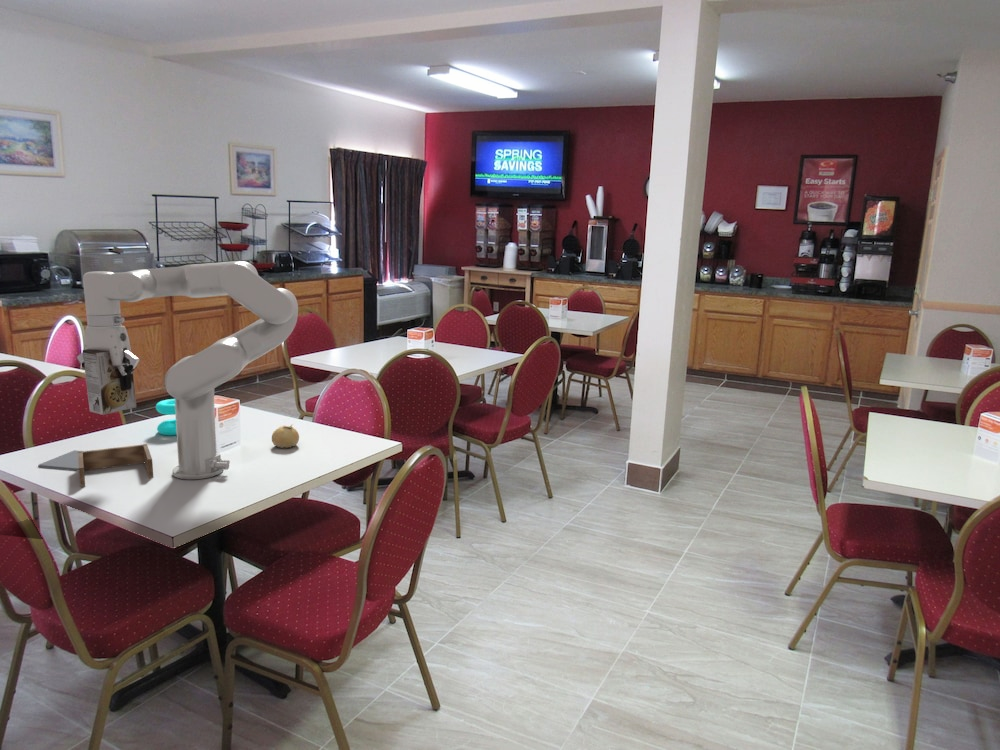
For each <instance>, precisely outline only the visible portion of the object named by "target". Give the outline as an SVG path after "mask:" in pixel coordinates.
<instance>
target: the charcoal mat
mask: <svg viewBox="0 0 1000 750" xmlns="http://www.w3.org/2000/svg"><path fill="white" fill-rule="evenodd" d="M82 451H83V450H76V449H75V450H72V451H69V452H67V453H65V454H62V455H59V456H57V457H54V458H52V459H49V460H47V461H44V462H42V463H39V464H38V467H39V468H44V467H49V468H48V469H55V468H59V469H58V470H66V469H69V471H77V470H79V460H78V452H82Z"/></svg>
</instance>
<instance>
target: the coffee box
mask: <svg viewBox="0 0 1000 750" xmlns="http://www.w3.org/2000/svg"><path fill="white" fill-rule="evenodd" d="M82 352H83V357H84V366H85V369H84V373H85V384H86V391H87V399H88V400H87V401H88V406H89V407H88V408H89V413H93V414H94V413H95V414H99V415H101V416H102V415H103V416H105V415H108V414H113V413H118V412H121V411H126V410H129V409H135V408H137V401H136V391H135V390H136V389H135V381H134V372H133V373H132V374H131V389H128V390H125V391H122V390H121V386H120V376H121V375H122V374H121V373H120V371H119V370H118V368H117V367H116V366H113V365H112V361H111V357H110V352H109V351H101V350H89V349H86V350H85V349H83V350H82ZM124 360H126V361H129V359H128V358H126V357H123V360H122V363H123V362H124ZM127 363H128V364H129V365H130V363H129V362H127ZM123 367H124V366H123ZM124 369H125V368H124Z"/></svg>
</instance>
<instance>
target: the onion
mask: <svg viewBox="0 0 1000 750" xmlns="http://www.w3.org/2000/svg"><path fill="white" fill-rule="evenodd" d="M293 425H294V424H291V425H286V424H285V425H281V426H279V427H278V428H276V429H275V430H274V431H273V432H272V435H271V442H272V443H273V445H274V446H275V445H276V446H275V447H277V446H278V447H277V448H279V447H290V448H292V447H291V446H293V447H294V445H295V446H296V445H297V444H299V441H300V434H299V432H298V431H297V429H295V428H294V427H293Z"/></svg>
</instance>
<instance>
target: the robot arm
mask: <svg viewBox="0 0 1000 750" xmlns="http://www.w3.org/2000/svg"><path fill="white" fill-rule="evenodd" d="M82 282H83V283H82V284H83V294H84V295H83V296H84V302H85V312H86V323H87V326H86V327H85V332H84V350H86V349H89V350H101V351H109V352H110V357H111V361H112V365H113V366H116V367H117V368H118V370H119V371H120V373H121V374H122V375H121V376H120V386H121V390H122V391H125V390H128V389H131V374H132V373H133V374H134V370H136V369H137V366H138V364H139V362H140V358H139V357H137V356H136V355H134V354H133V353H132V349H131V343H130V338H129V333H128V331H127V328H126V325H123V324H122V323H124V322H125V321H126V320H125V317H122V314H121V302H126V303H136V302H139V301H142V300H145V299H151V298H160V297H174V296H179V297H181V296H182V297H183V296H184V297H188V298H191V299H200V298H210V297H211V298H212V297H221V296H229V297H230V298H231V299H233V300H234V301H235V302H237V303H238V304H239V305H242V307H244V308H245V309H247V310H249V311H250V312H251V313H252V314H254V315H255V316H257V318H259V319H257V320H256V321H253V322H252V323H251V324H248V325H247V326H246V327H244V328H242V329H240V330H238V331H236V332H234V333H232V334H230V335H228V336H226V337H223V338H221V339H218V340H217V341H215V342H214V343H213V344H211V345H210V346H208V347H206V348H204V349H203V350H201V351H199V352H197V353H195V354H194V355H188V356H185V357H183V358H181V359H180V360H178V361H177V362H176V363H174V364H173V365H172V366H171V367H170V368H169V369H168V370H167V372H166V373H165V375H164V380H163V381H164V388H165V390H166V392H167V393H168V394H169V395H170V397H173V399H175V414H176V415H175V419H176V432H177V435H176V444H177V445H176V446H177V459H178V461H177V463H178V465H176V466H175V467H173V469H172V476H173V477H175V478H176V479H181V480H202V479H208V478H211V477H216V476H217V475H219V474H221V473H222V472H224V470H225V471H229V468H230V463H231V462H230V459H229V460H228V459H222V458H221V456H222V455H221V454H220V453H217V435H216V416H215V415H216V414H215V412H216V410H215V388H217V387H219V386H221V385H223V384H224V383H226V382H228V381H230V380H232V379H234V378H236V377H237V376H238V375H239V374H240V373H241V372H242V371H243V369H244V368H245V367H246V366H247V365H249V364H250V363H252V362H253V361H255V360H257V359H260V358H261V357H263V356H264V355H266V354H268V353H269V352H270V351H272V350H274V349H276V348H277V347H279V346H280V345H282V344H283V343H284V342H285V341H286V340H287V339H288V338H289V337H290V336H291V335H292V333H293V331H294V330H295V327H296V325H297V323H298V322H297V321H298V317H299V304H298V300H297V298H296V296H295V294H294V293H293V292H292V291H291V290H289V289H286V288H283V287H278V288H277V287H276V286H273V284H272V283H271V284H270V282H269V281H266V280H265V279H264V278H262V277H261V276H260V275H259V272H258V271H257V268H256V267H255V266H254V265H253V264H252V263H250V262H248V261H245V260H243V261H242V260H236V261H235V260H234V261H221V262H208V263H194V264H185V265H180V266H172V267H171V266H170V267H159V268H156V267H155V268H143V269H141V268H140V269H134V270H130V271H124V272H116V273H115V272H114V271H113V272H112V271H109V270H107V271H103V270H97V271H87V272H85V273H83V276H82ZM123 357H126V358H128V359H129V361H126V360H124V362H123V363H122V360H123ZM76 359H77V360H78V362H79V363H80V364H81V365H80V366H81V367H82V368H83V369H84V370H85V366H84V357H83V351H82V352H81V353H79V354H78V355H77V356H76ZM127 362H129V363H130V365H129V364H128V363H127ZM123 366H124V367H123ZM124 368H125V369H124Z"/></svg>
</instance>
